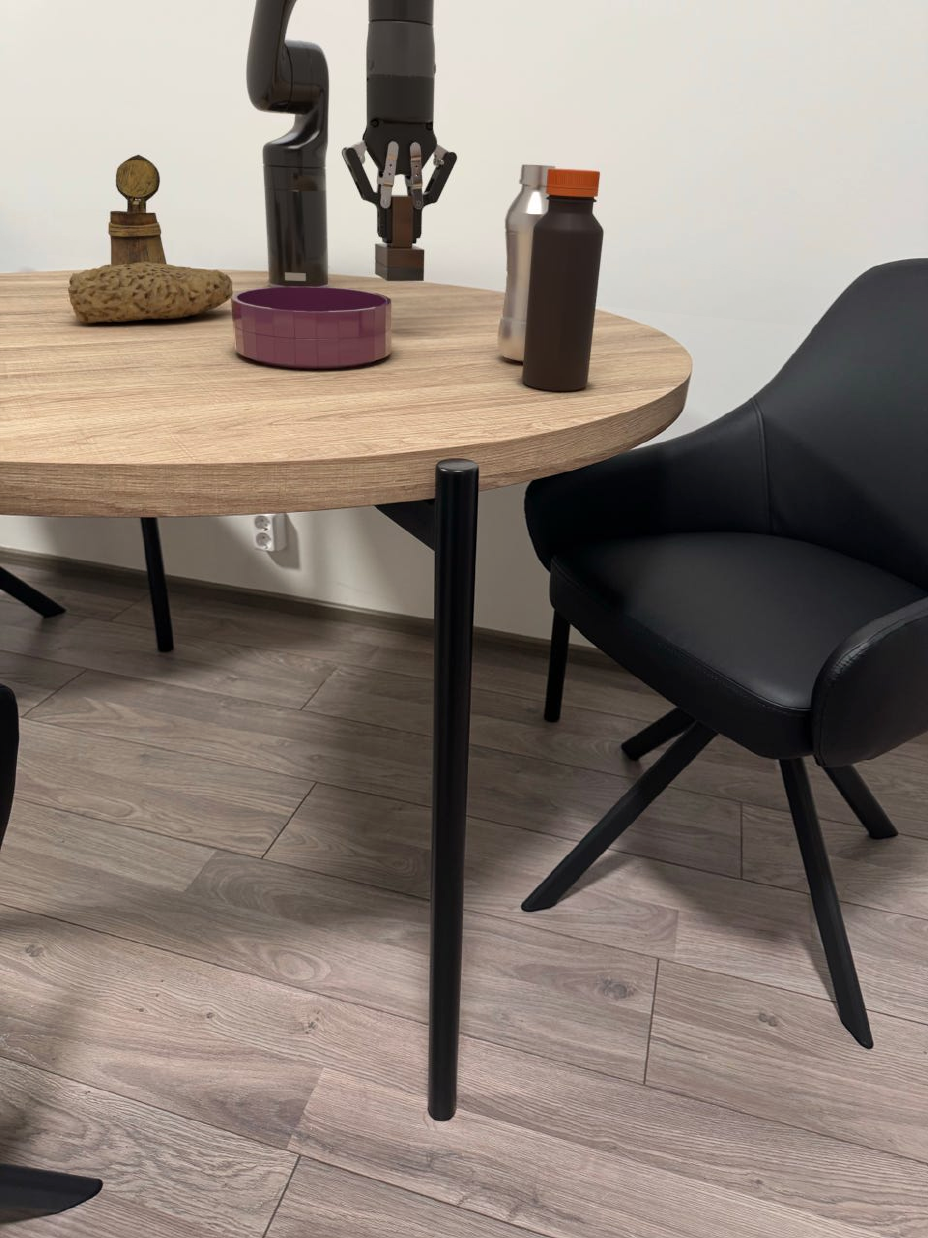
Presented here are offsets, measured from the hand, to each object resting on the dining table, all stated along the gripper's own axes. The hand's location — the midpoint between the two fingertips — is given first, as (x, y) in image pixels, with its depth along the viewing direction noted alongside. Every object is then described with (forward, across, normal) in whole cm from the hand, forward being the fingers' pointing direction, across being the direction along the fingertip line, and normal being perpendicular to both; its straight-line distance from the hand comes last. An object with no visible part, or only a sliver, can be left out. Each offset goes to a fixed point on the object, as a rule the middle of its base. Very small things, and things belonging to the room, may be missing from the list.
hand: (398, 242), depth 108 cm
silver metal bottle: (+11, -11, +15) cm, 22 cm away
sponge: (+11, +28, -14) cm, 33 cm away
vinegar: (+11, -10, +26) cm, 30 cm away
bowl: (+11, +12, +9) cm, 19 cm away
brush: (+4, 0, 0) cm, 4 cm away
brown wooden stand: (+11, +29, -33) cm, 45 cm away
